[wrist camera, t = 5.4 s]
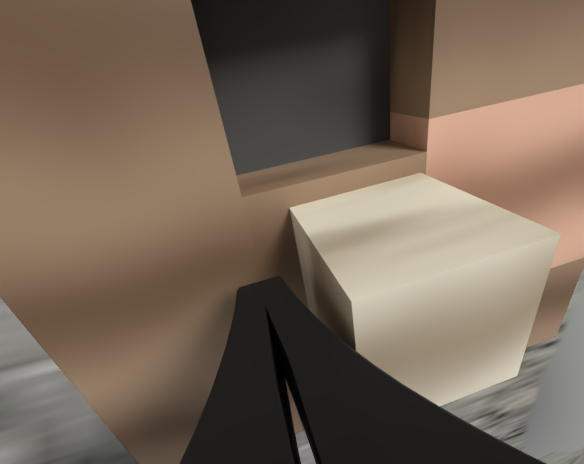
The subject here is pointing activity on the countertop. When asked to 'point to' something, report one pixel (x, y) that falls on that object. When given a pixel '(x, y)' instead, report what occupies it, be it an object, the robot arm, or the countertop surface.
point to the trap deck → (253, 164)
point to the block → (425, 281)
